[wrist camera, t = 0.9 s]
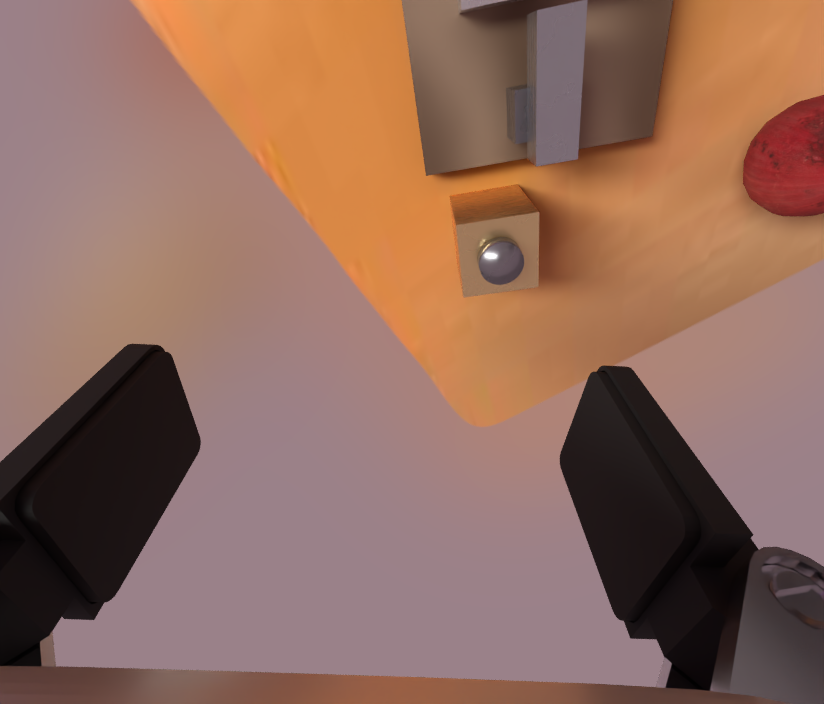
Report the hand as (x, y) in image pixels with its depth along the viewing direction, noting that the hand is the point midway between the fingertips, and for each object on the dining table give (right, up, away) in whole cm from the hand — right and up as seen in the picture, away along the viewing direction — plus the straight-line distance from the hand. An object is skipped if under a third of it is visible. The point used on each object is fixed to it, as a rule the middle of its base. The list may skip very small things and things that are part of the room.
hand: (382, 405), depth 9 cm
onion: (+22, +14, +15) cm, 30 cm away
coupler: (+6, +10, +18) cm, 22 cm away
